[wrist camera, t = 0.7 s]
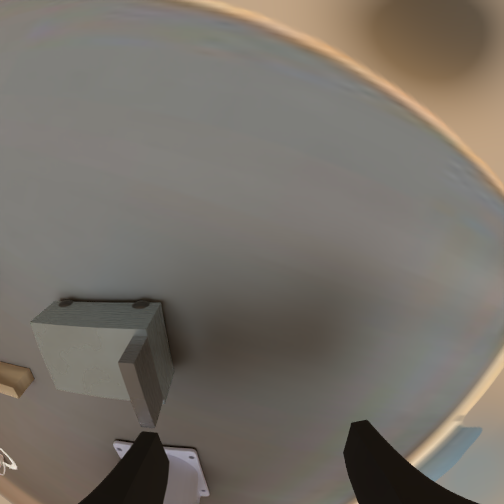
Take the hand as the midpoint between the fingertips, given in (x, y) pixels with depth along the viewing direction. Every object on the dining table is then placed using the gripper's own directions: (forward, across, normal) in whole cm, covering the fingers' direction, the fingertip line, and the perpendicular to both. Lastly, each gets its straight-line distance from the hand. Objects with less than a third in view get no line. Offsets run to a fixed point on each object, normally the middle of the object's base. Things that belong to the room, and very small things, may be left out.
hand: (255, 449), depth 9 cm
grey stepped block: (+9, +9, 0) cm, 13 cm away
